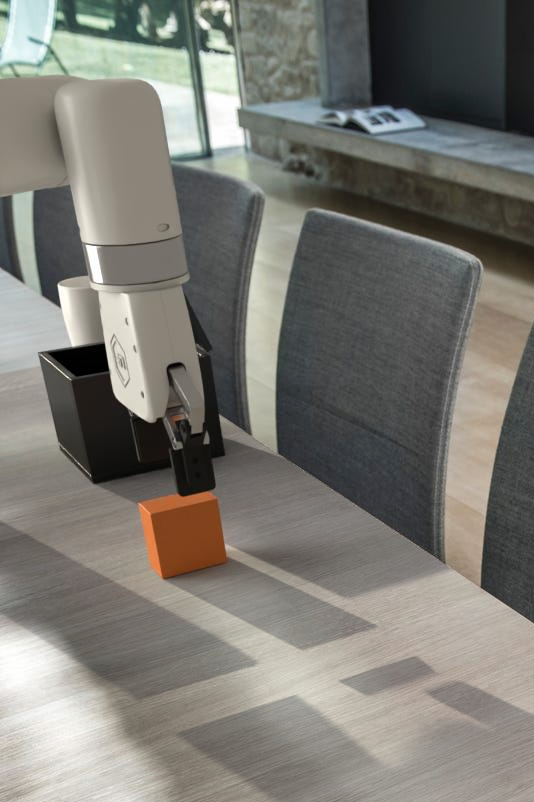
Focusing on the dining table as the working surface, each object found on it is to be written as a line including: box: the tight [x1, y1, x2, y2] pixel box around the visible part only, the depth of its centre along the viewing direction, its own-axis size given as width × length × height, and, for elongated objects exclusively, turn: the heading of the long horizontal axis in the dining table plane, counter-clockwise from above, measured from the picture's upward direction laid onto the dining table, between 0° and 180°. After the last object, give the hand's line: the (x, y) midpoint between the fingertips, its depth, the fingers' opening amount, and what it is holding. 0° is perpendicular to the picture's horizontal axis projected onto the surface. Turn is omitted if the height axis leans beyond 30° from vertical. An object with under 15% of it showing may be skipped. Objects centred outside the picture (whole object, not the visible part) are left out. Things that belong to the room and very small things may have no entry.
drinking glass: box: [57, 275, 105, 347], centre depth 136 cm, size 7×7×15 cm
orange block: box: [137, 491, 228, 579], centre depth 101 cm, size 6×3×6 cm, turn 122°
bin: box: [37, 341, 226, 484], centre depth 124 cm, size 15×13×11 cm
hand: (176, 475), depth 98 cm, fingers open, 9 cm apart
